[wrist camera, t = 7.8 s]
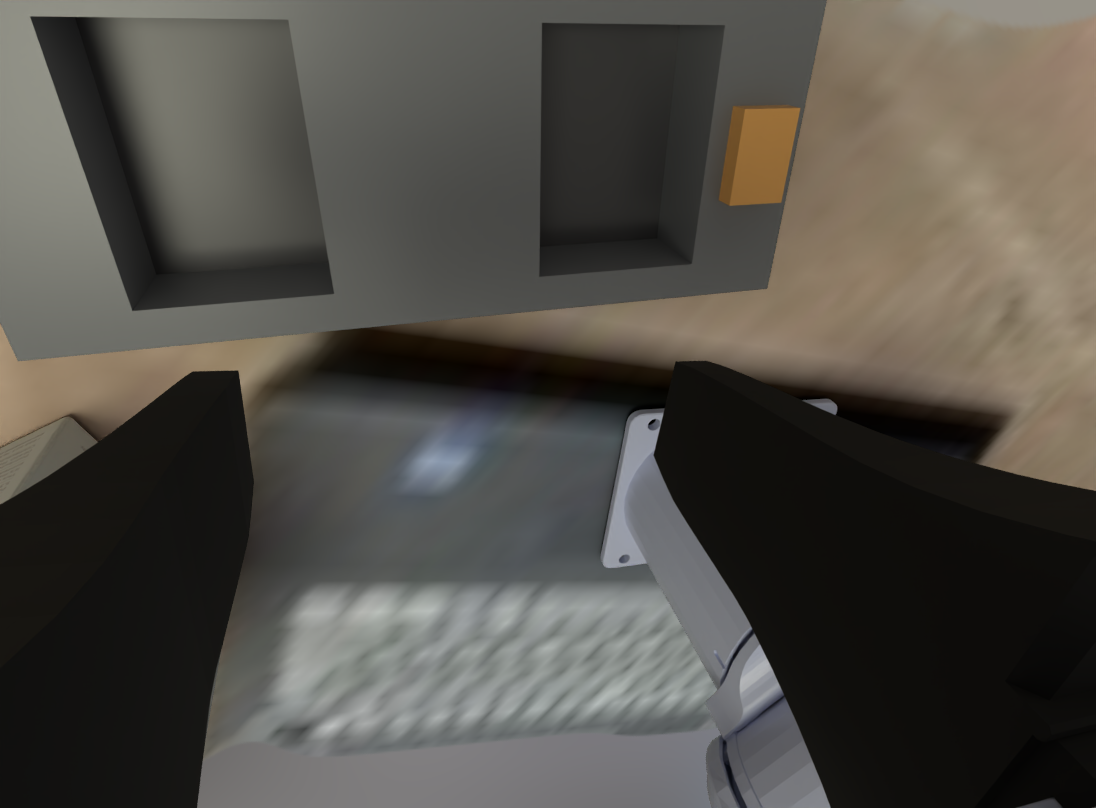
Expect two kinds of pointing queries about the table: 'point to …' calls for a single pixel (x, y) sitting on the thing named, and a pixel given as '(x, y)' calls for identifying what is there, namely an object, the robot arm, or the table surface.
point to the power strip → (383, 161)
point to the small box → (44, 460)
